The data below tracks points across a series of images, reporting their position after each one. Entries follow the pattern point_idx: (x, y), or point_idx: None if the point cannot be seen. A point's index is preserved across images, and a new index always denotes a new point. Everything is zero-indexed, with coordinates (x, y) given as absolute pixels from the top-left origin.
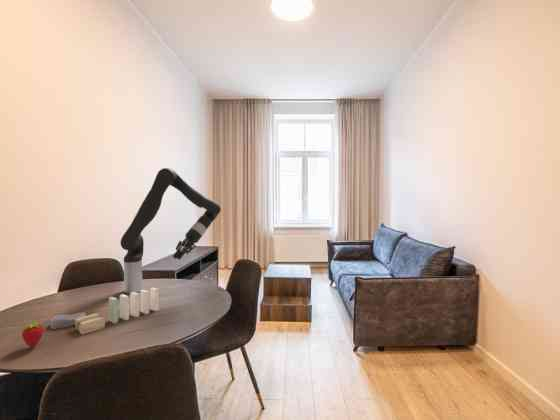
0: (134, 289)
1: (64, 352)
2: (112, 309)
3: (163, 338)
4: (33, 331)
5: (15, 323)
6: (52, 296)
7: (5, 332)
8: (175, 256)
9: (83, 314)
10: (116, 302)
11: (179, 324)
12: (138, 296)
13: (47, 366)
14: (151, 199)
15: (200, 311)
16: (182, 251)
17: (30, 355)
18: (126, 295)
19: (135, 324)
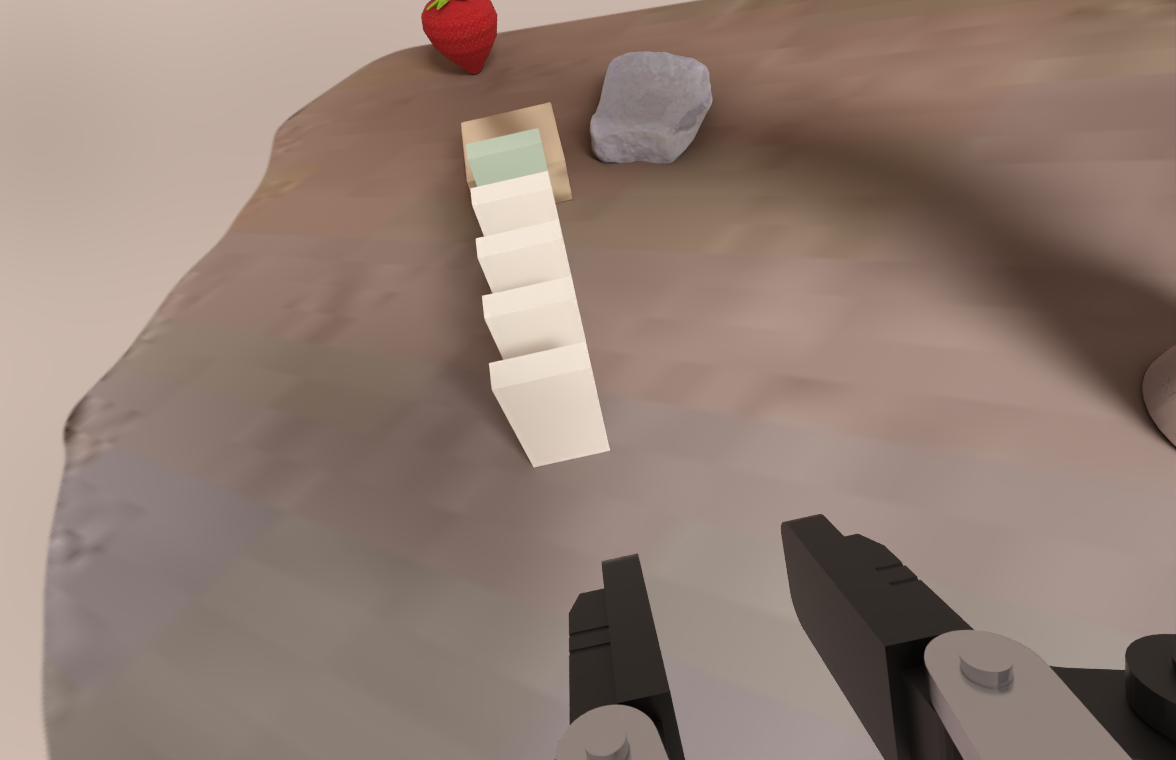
0: (1169, 392)
1: (360, 133)
2: None
3: (146, 391)
4: (424, 11)
5: (777, 4)
6: None
7: (687, 3)
8: (803, 585)
9: (627, 128)
10: (473, 172)
11: (209, 504)
12: (482, 267)
13: (304, 113)
14: None
15: (268, 733)
16: (578, 744)
17: (419, 76)
18: (503, 198)
19: (412, 322)
